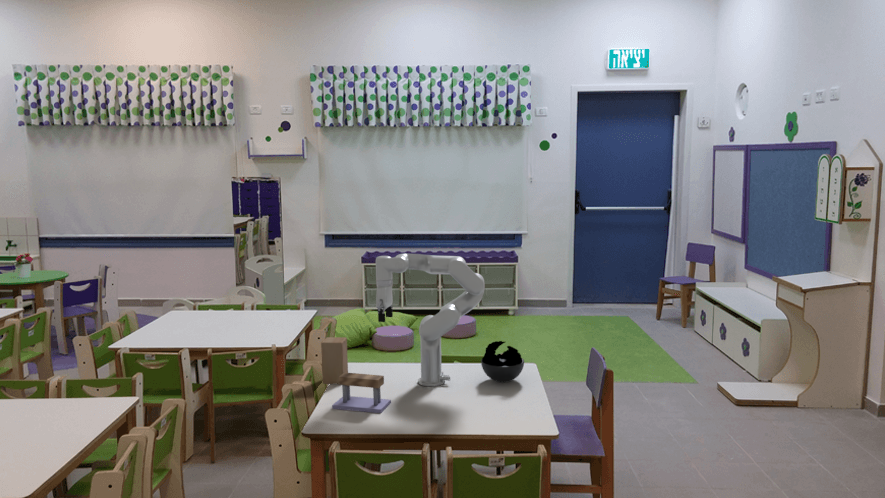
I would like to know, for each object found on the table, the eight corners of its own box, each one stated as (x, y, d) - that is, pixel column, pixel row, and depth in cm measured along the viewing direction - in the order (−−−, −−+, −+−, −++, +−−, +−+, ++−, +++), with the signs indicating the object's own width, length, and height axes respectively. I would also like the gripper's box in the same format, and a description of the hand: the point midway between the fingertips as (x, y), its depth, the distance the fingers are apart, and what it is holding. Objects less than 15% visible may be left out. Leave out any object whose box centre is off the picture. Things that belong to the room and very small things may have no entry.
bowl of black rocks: (480, 374, 333) (480, 336, 331) (522, 374, 332) (522, 336, 330) (481, 388, 314) (481, 348, 311) (525, 388, 313) (525, 347, 310)
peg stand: (391, 403, 297) (390, 381, 296) (381, 413, 286) (380, 390, 284) (343, 398, 303) (343, 377, 302) (332, 408, 292) (331, 386, 290)
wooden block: (348, 377, 332) (346, 337, 330) (343, 384, 323) (341, 342, 320) (328, 377, 333) (326, 336, 331) (322, 384, 324) (320, 342, 321)
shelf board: (339, 384, 293) (338, 376, 293) (345, 380, 299) (344, 372, 298) (378, 388, 288) (378, 380, 287) (383, 383, 293) (383, 375, 293)
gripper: (383, 279, 327) (384, 314, 329) (369, 286, 310) (371, 323, 313) (398, 279, 325) (399, 315, 327) (385, 286, 308) (386, 324, 311)
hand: (385, 319), depth 320 cm, fingers open, 9 cm apart
